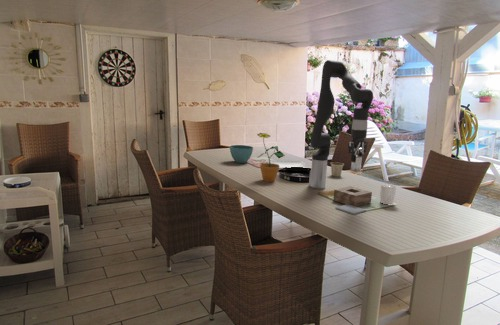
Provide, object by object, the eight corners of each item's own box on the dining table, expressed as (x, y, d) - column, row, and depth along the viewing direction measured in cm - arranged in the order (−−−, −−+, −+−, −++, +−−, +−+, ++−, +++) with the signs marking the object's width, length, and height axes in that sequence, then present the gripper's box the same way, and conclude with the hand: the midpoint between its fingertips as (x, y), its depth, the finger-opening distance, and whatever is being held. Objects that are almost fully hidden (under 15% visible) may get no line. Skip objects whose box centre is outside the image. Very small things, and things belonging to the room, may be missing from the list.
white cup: (384, 205, 200) (386, 187, 198) (375, 201, 207) (377, 183, 206) (397, 205, 202) (399, 187, 200) (388, 200, 210) (390, 183, 208)
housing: (333, 200, 206) (334, 189, 205) (349, 196, 215) (350, 186, 214) (354, 207, 196) (355, 195, 195) (370, 202, 204) (371, 192, 203)
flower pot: (341, 174, 272) (342, 162, 270) (344, 177, 263) (345, 165, 261) (327, 173, 271) (328, 162, 270) (331, 176, 262) (332, 164, 261)
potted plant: (252, 182, 237) (254, 134, 232) (258, 176, 255) (260, 131, 250) (280, 185, 233) (283, 136, 228) (284, 178, 251) (287, 133, 246)
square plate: (267, 164, 298) (267, 159, 297) (301, 165, 300) (301, 160, 299) (271, 172, 271) (271, 166, 270) (309, 173, 273) (309, 167, 272)
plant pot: (256, 162, 303) (257, 146, 301) (244, 165, 288) (244, 149, 286) (237, 159, 313) (238, 144, 310) (224, 162, 297) (225, 146, 295)
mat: (335, 208, 192) (335, 207, 192) (347, 205, 198) (348, 204, 198) (353, 214, 183) (353, 213, 183) (365, 211, 189) (366, 209, 189)
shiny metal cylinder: (348, 170, 198) (350, 155, 197) (354, 169, 201) (355, 154, 200) (356, 172, 194) (358, 156, 193) (362, 171, 197) (364, 156, 196)
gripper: (361, 127, 201) (358, 159, 204) (344, 128, 192) (341, 161, 195) (373, 128, 195) (370, 161, 198) (357, 129, 186) (354, 163, 190)
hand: (356, 161), depth 197 cm, fingers closed on shiny metal cylinder, 5 cm apart
